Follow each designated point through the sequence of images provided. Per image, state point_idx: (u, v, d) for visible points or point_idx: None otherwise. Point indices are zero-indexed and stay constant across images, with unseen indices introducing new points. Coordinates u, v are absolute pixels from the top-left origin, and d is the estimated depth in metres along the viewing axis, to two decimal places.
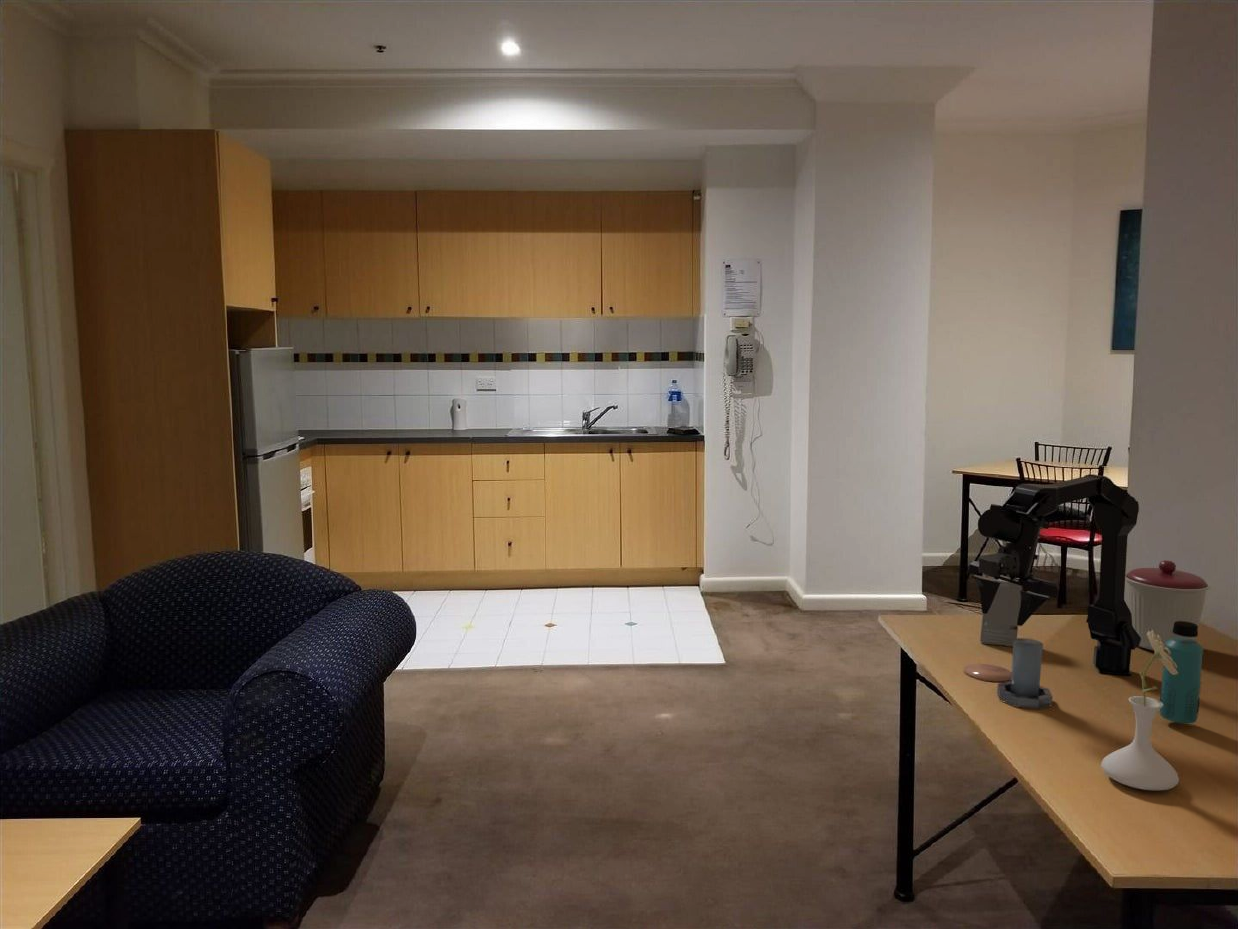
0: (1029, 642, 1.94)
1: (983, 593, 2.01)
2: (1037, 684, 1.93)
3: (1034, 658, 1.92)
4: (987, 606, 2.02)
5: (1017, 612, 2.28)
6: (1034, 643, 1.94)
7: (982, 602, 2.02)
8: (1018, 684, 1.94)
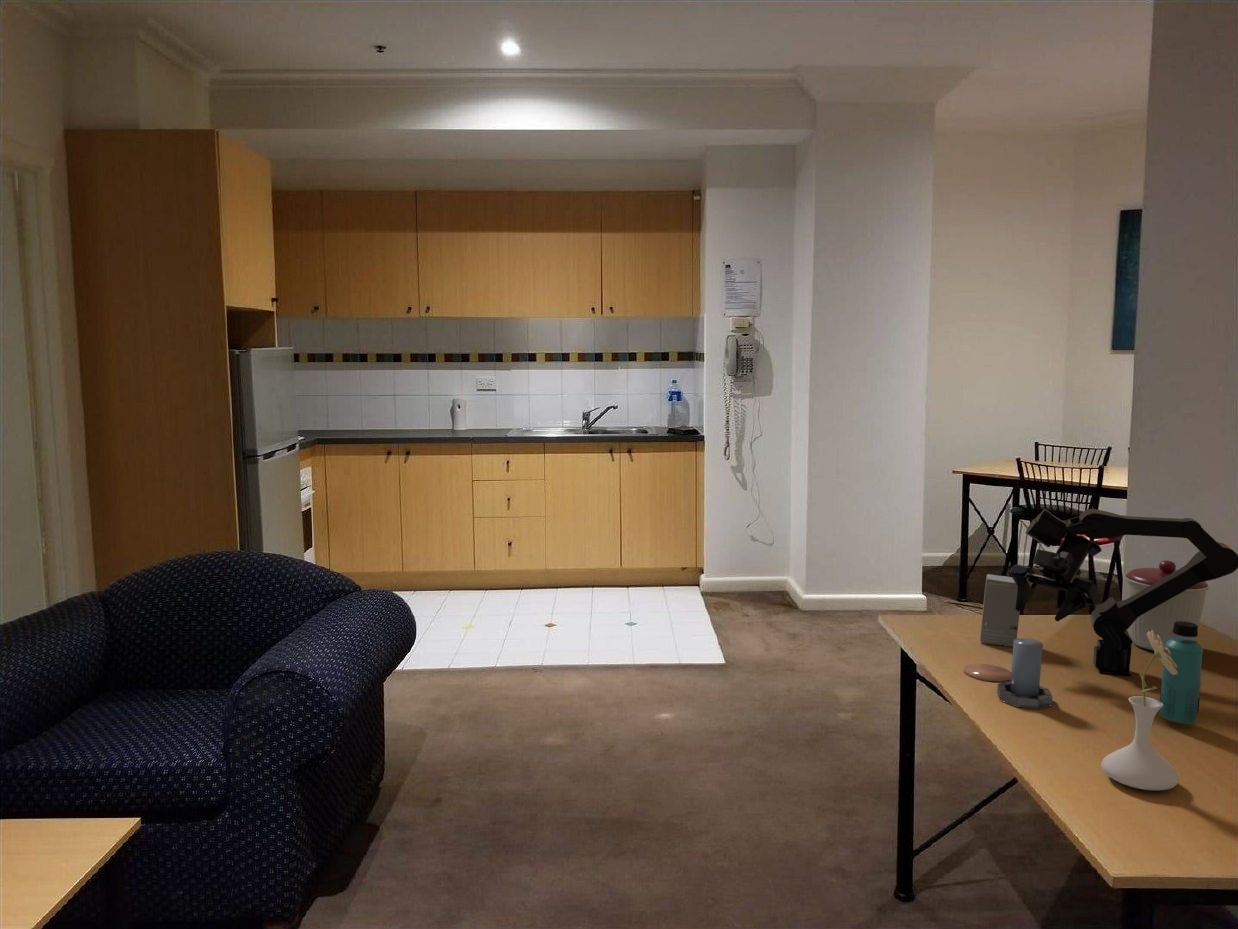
0: (1029, 642, 1.94)
1: (1021, 591, 2.13)
2: (1037, 684, 1.93)
3: (1034, 658, 1.92)
4: (1021, 604, 2.12)
5: (1017, 612, 2.28)
6: (1034, 643, 1.94)
7: (1018, 599, 2.12)
8: (1018, 684, 1.94)
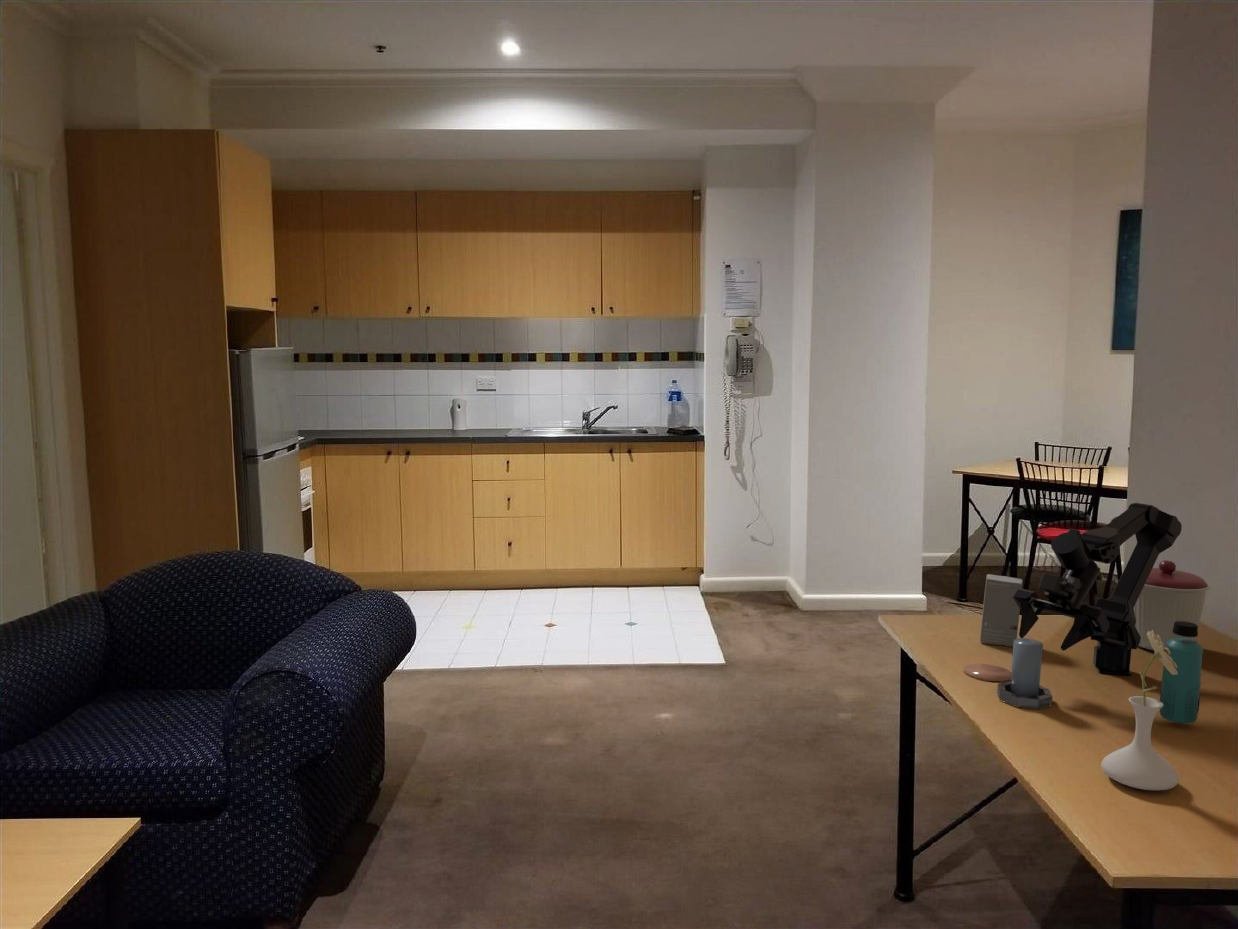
0: (1029, 642, 1.94)
1: (1025, 617, 2.01)
2: (1037, 684, 1.93)
3: (1034, 658, 1.92)
4: (1025, 631, 2.01)
5: (1017, 612, 2.28)
6: (1034, 643, 1.94)
7: (1022, 625, 2.01)
8: (1018, 684, 1.93)
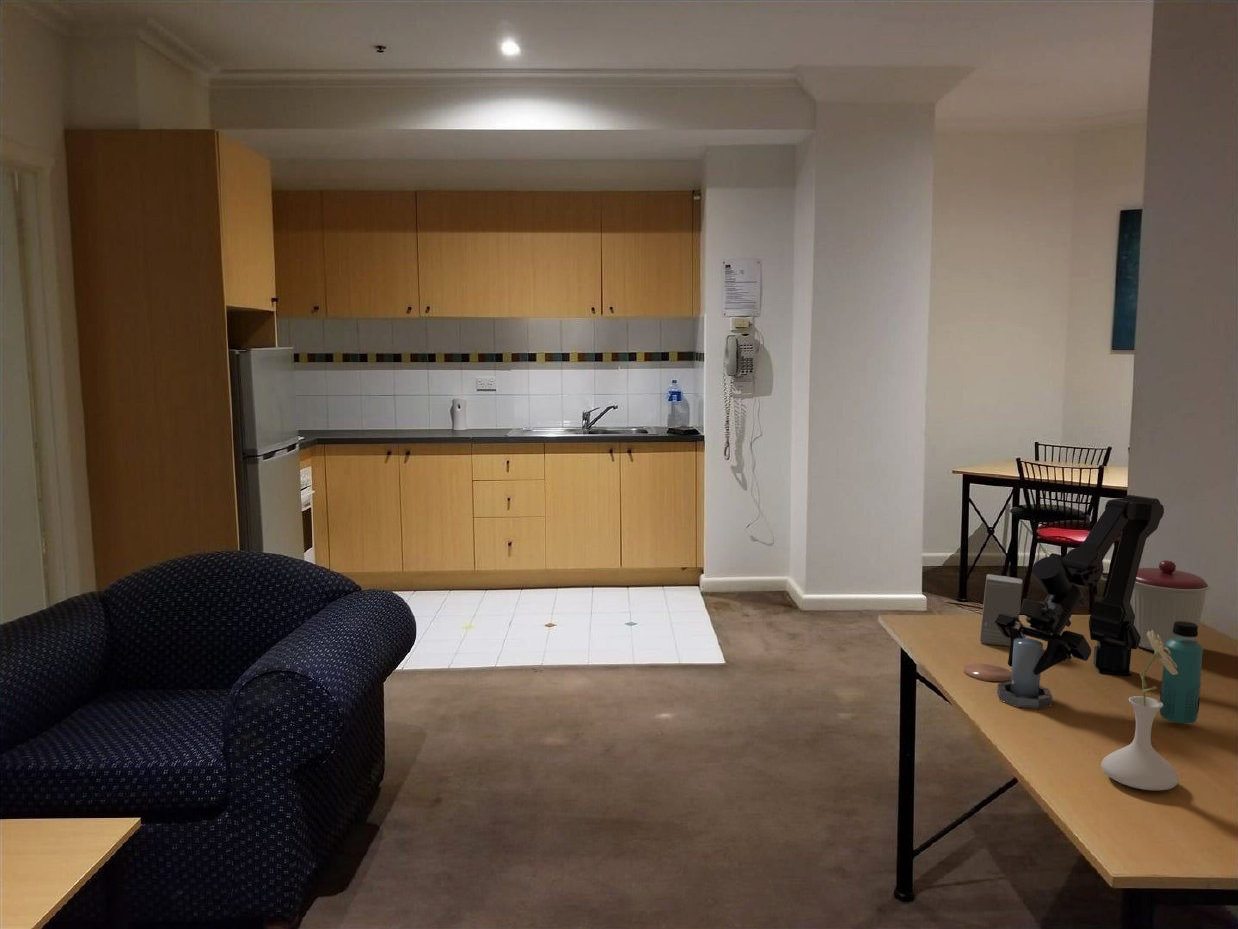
0: (1029, 642, 1.94)
1: None
2: (1037, 684, 1.93)
3: (1034, 658, 1.92)
4: None
5: (1017, 612, 2.28)
6: (1034, 643, 1.94)
7: (1011, 653, 1.97)
8: (1018, 683, 1.93)
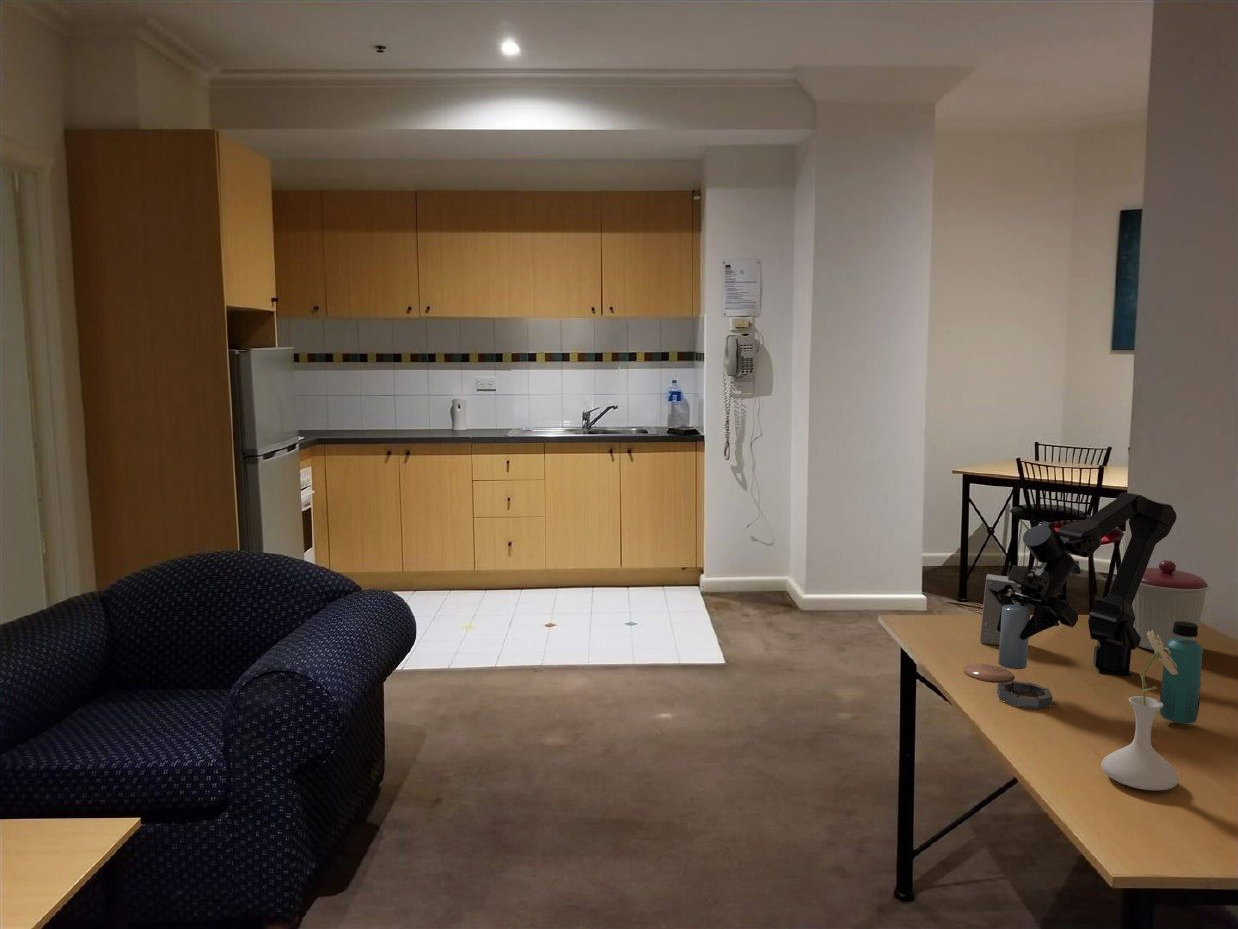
0: (1017, 608, 1.98)
1: None
2: (1024, 649, 1.96)
3: (1020, 623, 1.95)
4: None
5: None
6: (1022, 609, 1.97)
7: (1000, 619, 2.01)
8: (1005, 648, 1.97)
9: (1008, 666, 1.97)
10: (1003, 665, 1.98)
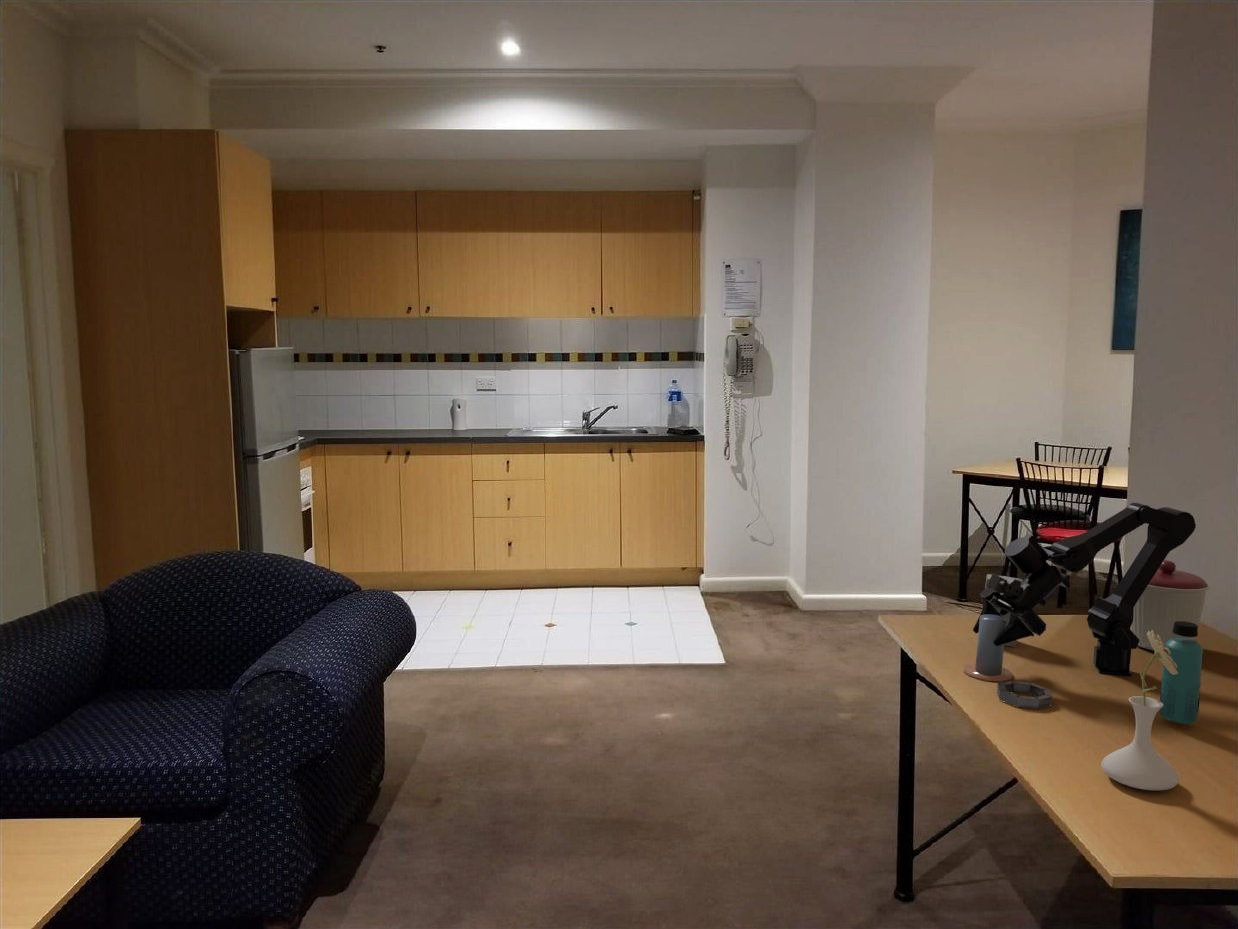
0: (995, 618, 2.09)
1: (982, 614, 2.14)
2: (996, 657, 2.07)
3: (992, 632, 2.06)
4: None
5: None
6: (998, 619, 2.08)
7: (977, 621, 2.14)
8: (978, 654, 2.09)
9: (980, 671, 2.09)
10: (977, 670, 2.10)
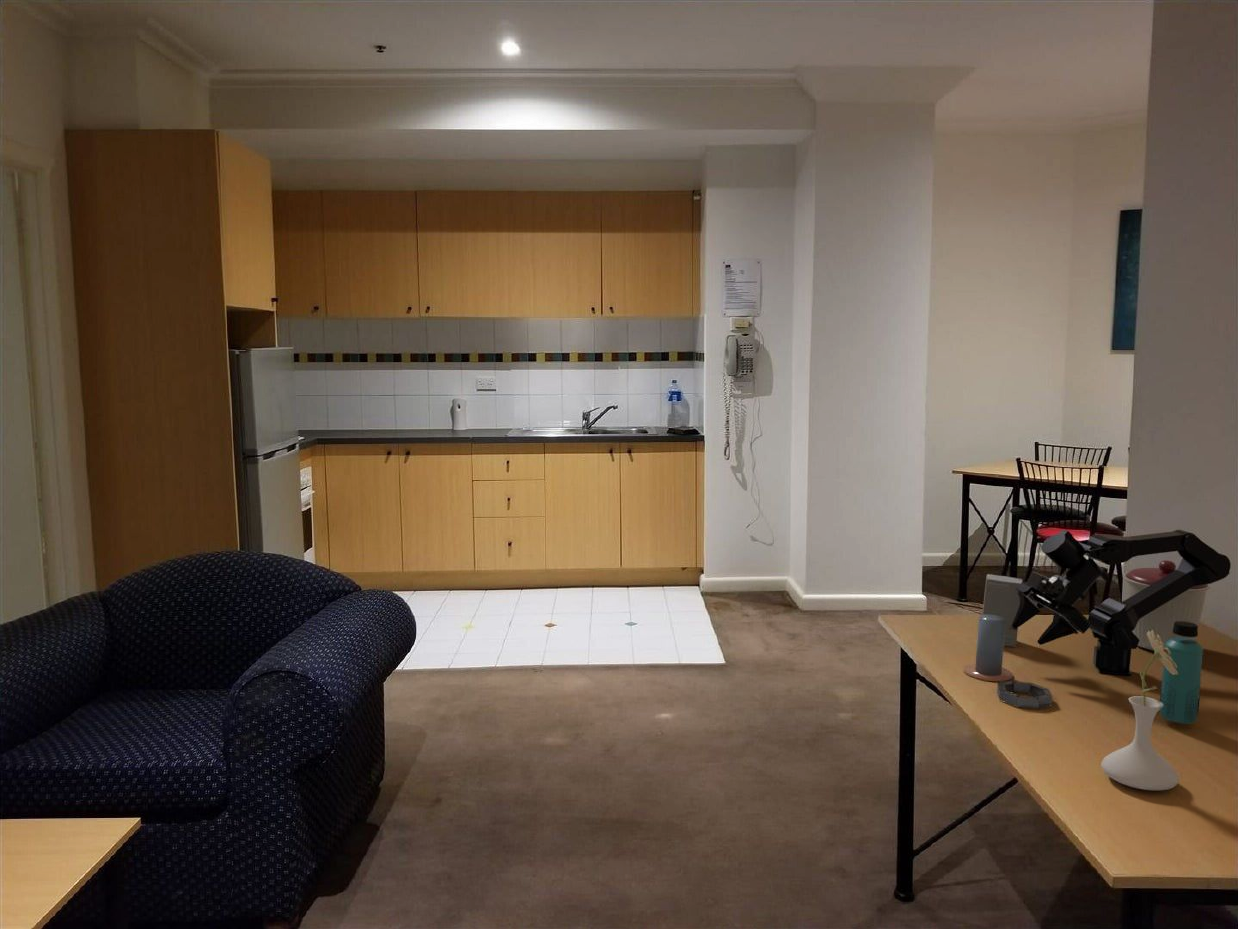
0: (993, 618, 2.09)
1: (1021, 610, 2.15)
2: (996, 657, 2.07)
3: (991, 632, 2.07)
4: (1019, 622, 2.15)
5: None
6: (997, 619, 2.08)
7: (1016, 617, 2.15)
8: (978, 654, 2.09)
9: (980, 671, 2.09)
10: (976, 670, 2.10)
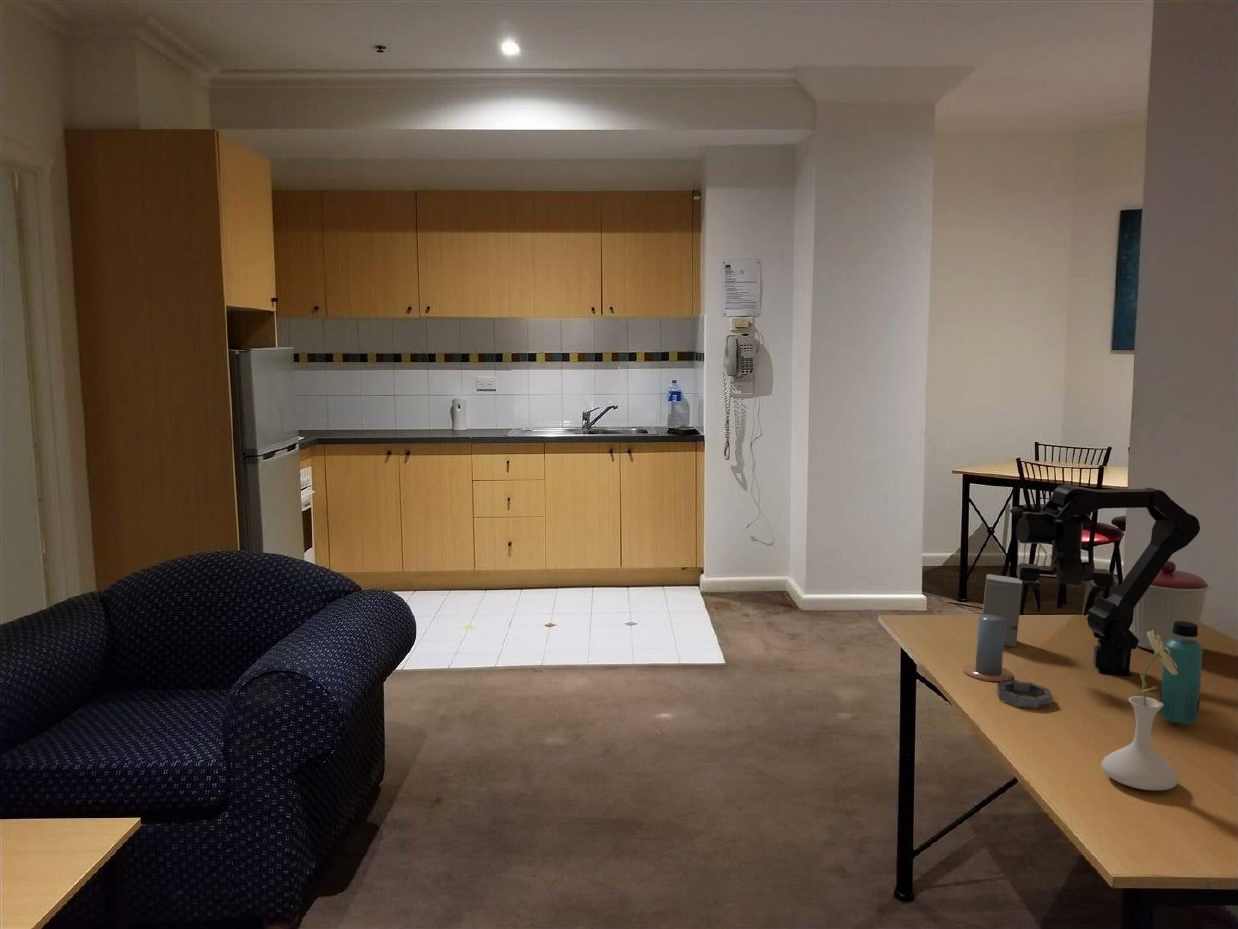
0: (993, 618, 2.09)
1: (1038, 594, 2.11)
2: (995, 657, 2.07)
3: (991, 632, 2.07)
4: None
5: (1017, 612, 2.28)
6: (997, 619, 2.08)
7: (1038, 602, 2.12)
8: (978, 655, 2.09)
9: (980, 671, 2.09)
10: (977, 670, 2.10)
